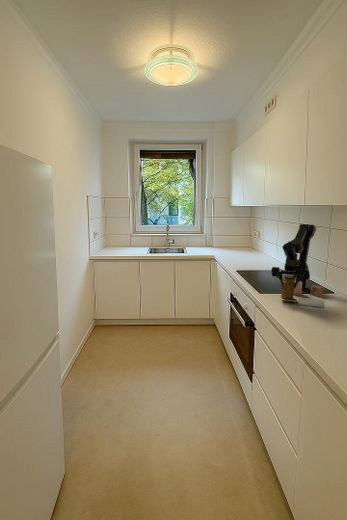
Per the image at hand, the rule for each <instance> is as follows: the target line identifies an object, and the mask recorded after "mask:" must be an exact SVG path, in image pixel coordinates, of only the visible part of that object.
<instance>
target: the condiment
mask: <svg viewBox="0 0 347 520" xmlns="http://www.w3.org/2000/svg"><path fill="white" fill-rule="evenodd" d="M294 281H296V277H293V275H284V278H283V286H281V293H280V295H279V298H280V300H283V301H292V302H298V299H297V297H296V296H295V295H294V288H295V282H294Z"/></svg>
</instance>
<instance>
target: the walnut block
mask: <svg viewBox="0 0 347 520" xmlns="http://www.w3.org/2000/svg"><path fill="white" fill-rule="evenodd" d="M309 294H310V295H312V296H313V297H316V298H317V297H324V296H325V287H324V286H323V285H322V286H321V285H318V284H317V285H311V286H310V292H309Z"/></svg>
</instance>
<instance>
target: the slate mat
mask: <svg viewBox="0 0 347 520" xmlns="http://www.w3.org/2000/svg"><path fill="white" fill-rule="evenodd" d="M297 300H298V301H297V306H305V307H310V308H319V309H324V301H323V299H317V298H316V299H315V298H308V297H307V298H306V297H301V296H300V297H298V299H297Z"/></svg>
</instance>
